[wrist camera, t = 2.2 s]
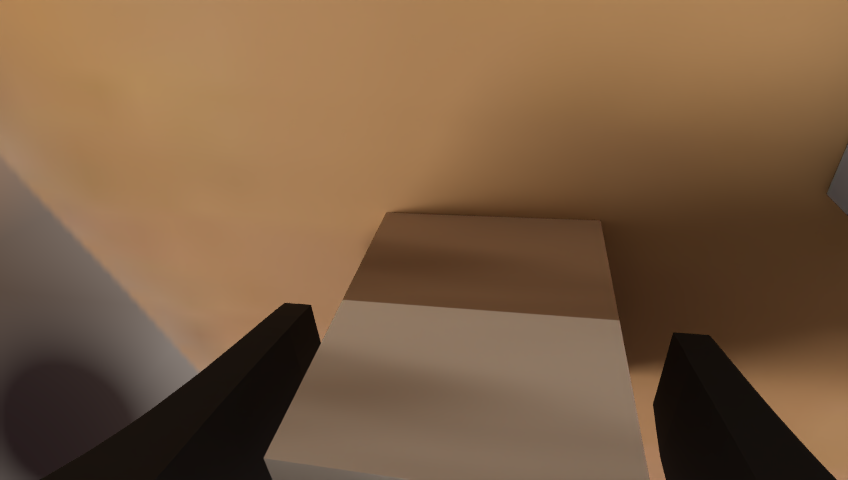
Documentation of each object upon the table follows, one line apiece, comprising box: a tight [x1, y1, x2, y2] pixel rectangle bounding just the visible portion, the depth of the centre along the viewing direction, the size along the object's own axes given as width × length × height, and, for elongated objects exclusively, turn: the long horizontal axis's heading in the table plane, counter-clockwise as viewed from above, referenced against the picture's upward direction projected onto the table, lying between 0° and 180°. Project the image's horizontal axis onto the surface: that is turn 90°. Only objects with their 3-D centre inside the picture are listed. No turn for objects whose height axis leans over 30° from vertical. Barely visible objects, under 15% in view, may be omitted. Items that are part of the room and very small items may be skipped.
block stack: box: [264, 213, 650, 480], centre depth 9 cm, size 4×4×6 cm
